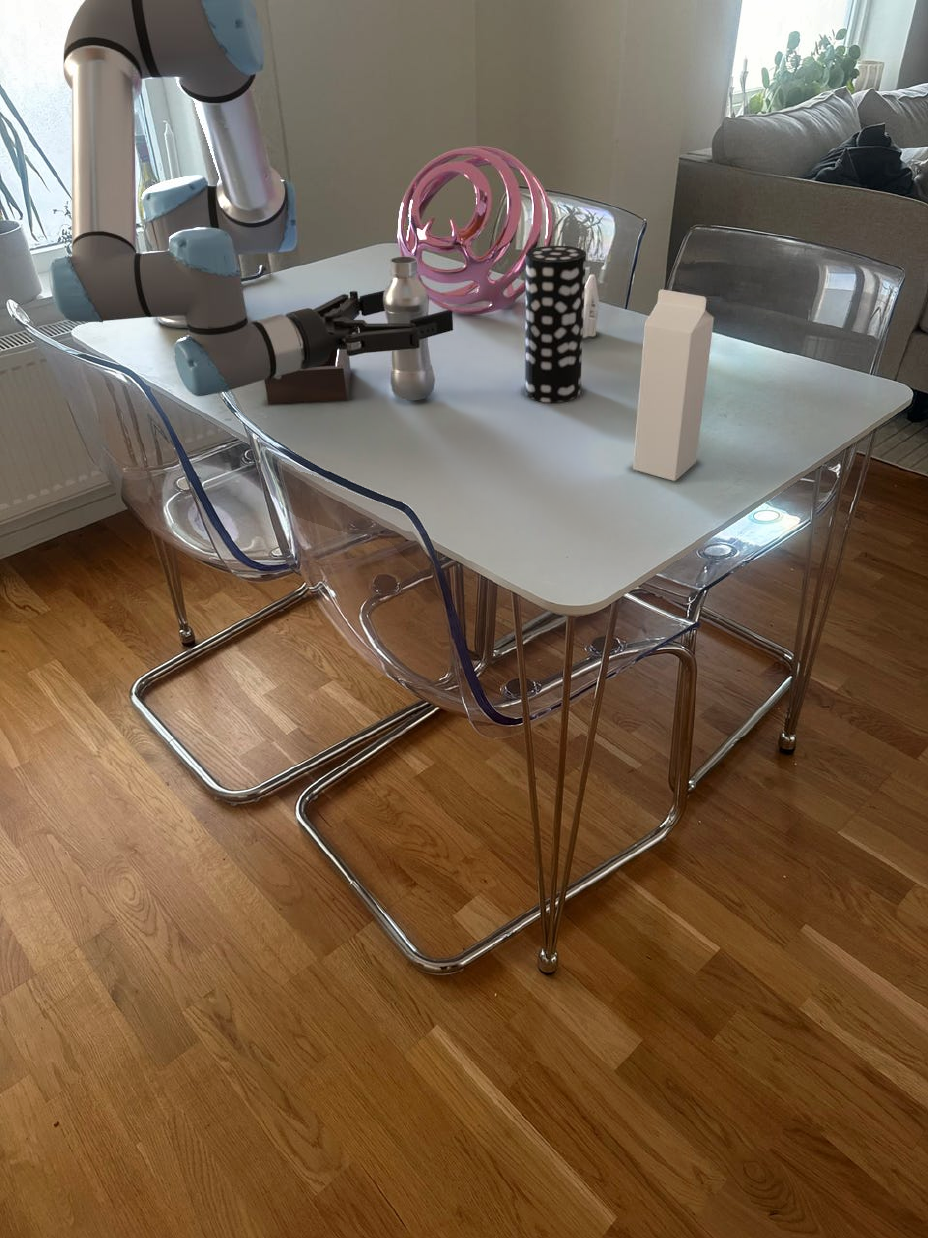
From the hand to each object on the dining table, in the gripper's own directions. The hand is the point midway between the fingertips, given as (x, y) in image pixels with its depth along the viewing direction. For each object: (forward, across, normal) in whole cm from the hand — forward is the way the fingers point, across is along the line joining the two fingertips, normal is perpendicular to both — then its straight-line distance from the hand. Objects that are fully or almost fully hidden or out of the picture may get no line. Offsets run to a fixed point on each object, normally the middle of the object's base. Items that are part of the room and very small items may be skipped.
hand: (424, 307), depth 133 cm
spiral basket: (+28, -28, -13) cm, 41 cm away
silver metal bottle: (-3, 0, -13) cm, 13 cm away
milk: (+10, +40, -13) cm, 43 cm away
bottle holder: (-13, -14, -13) cm, 23 cm away
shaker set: (+30, -2, -13) cm, 33 cm away
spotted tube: (+14, +12, -13) cm, 23 cm away
